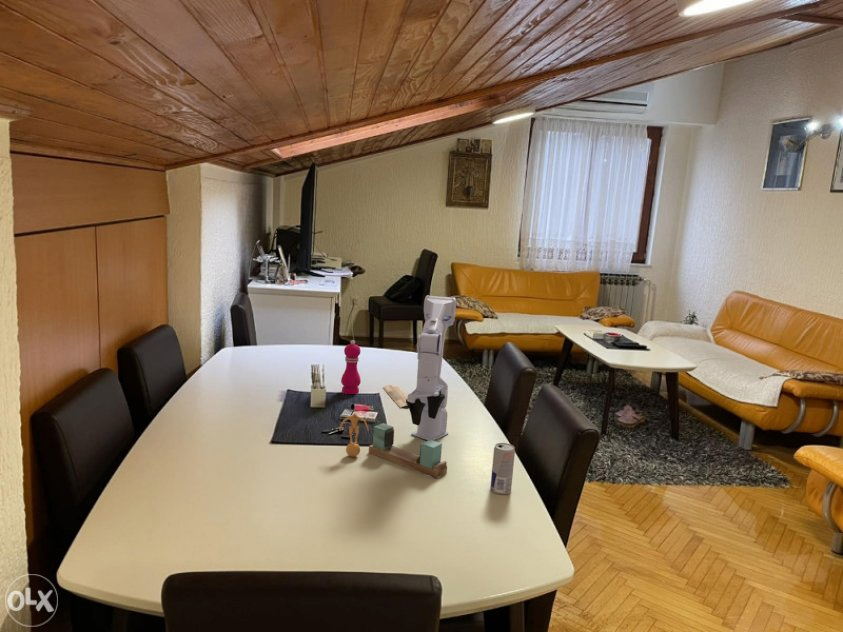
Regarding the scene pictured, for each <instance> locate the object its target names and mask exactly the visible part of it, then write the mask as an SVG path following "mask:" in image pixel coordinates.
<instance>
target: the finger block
mask: <svg viewBox="0 0 843 632" xmlns="http://www.w3.org/2000/svg"><path fill="white" fill-rule="evenodd" d="M442 445H443V443H442V442H439V441H436V440H426V441H424V442H422V443H420V445H419V446H420V447H419V456H420V457H419V460H420V465H423V466H426V467H428V468H431V469H432V468H433V466H435V465H437V464H439V463H441V462H442V460H441V459H442V449H443V446H442Z"/></svg>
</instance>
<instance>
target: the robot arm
mask: <svg viewBox="0 0 843 632" xmlns="http://www.w3.org/2000/svg"><path fill="white" fill-rule="evenodd" d="M456 311H457V298H456V297H454V296H453V297H449V296H436V295H429V294H428V295H426V296H425V298H424V301H423V315H424V320H425V322H424V324H423V328H422V332H421V334H418V336H417V343H416V350H417V356H416V357H417V360H418V361H417V376H416V387H415V389H414V390H413V391H411V393H409V394H407V397H408V399H406V404H407V405H408V406H407V407H408V409H409V413H410V418H411V422H412V425H415V426H416V427H417V428H416V429H417V430H416V431H412V432H411V434H410V435H411V436H414V437H418V438H420V439H423V440H426V441H428V440H433V441H436V440H437V439H440V438H442V437H444V436H447V435H449V432H448V431H447V427H448V411H447V408H446V407H447V405H448V397H449V396H448V392H449V391H448V389H449V387H448V384H447V382H446V381H445V380H444V379H442V378H441V373H442V366H443V364H442V363H443V357H444V346H445V340H446V339H445V337H446V333H447V330H448V328H449V327H451V326H453V325H454V323H455V317H456Z"/></svg>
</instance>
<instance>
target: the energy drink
mask: <svg viewBox="0 0 843 632" xmlns="http://www.w3.org/2000/svg"><path fill="white" fill-rule="evenodd" d="M515 450H516V449H515V446H514V445H513V444H510V443H507V442H506V443H505V442H499V443H498V442H497V443H496V444H495V445H494V447H493V454H492V455H493V456H492V466H491V477H490V491H491V492H493V493H494V494H497V495H502V496H503V495H508V494H510V493H511V492H512V485H513V475H514V466H515V465H514V463H515V456H516V451H515Z"/></svg>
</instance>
